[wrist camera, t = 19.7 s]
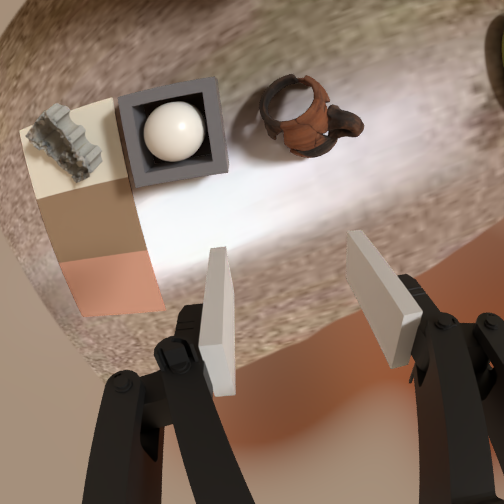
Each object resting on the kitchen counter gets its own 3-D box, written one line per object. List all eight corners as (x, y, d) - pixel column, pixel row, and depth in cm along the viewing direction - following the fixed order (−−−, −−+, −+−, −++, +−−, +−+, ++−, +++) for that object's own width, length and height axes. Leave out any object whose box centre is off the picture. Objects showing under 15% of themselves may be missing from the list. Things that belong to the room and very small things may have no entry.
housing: (130, 96, 35) (117, 97, 30) (217, 78, 35) (214, 76, 30) (146, 176, 40) (135, 187, 36) (229, 163, 40) (228, 172, 35)
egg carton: (43, 115, 33) (21, 134, 31) (63, 94, 29) (38, 114, 27) (85, 171, 40) (67, 191, 38) (111, 160, 36) (90, 182, 33)
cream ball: (147, 107, 36) (130, 110, 29) (202, 96, 36) (196, 97, 29) (157, 159, 39) (143, 173, 33) (210, 150, 39) (206, 162, 33)
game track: (19, 130, 35) (19, 130, 35) (112, 97, 35) (111, 97, 34) (83, 316, 50) (82, 316, 50) (166, 309, 50) (165, 310, 50)
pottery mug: (276, 160, 41) (243, 135, 34) (290, 99, 41) (263, 67, 34) (365, 170, 35) (349, 141, 28) (375, 103, 35) (361, 64, 28)
